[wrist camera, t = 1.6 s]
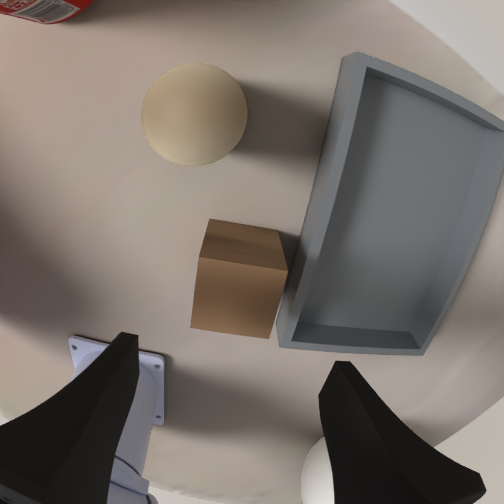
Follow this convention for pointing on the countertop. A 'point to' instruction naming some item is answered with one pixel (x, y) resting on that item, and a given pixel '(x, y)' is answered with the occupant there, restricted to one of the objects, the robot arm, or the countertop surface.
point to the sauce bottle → (317, 476)
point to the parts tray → (390, 213)
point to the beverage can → (44, 9)
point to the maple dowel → (194, 114)
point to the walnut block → (238, 279)
